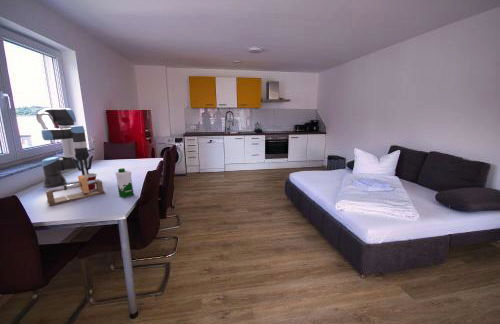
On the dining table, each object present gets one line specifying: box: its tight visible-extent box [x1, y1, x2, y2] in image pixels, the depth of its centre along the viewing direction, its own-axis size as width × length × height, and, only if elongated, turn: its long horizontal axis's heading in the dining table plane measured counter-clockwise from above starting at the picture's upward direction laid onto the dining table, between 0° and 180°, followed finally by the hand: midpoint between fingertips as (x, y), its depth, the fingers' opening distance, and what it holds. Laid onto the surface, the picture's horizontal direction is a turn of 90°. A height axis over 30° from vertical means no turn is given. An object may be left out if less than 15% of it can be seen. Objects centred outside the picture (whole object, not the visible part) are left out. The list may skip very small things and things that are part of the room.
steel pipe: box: [48, 178, 100, 193], centre depth 164 cm, size 4×29×4 cm, turn 138°
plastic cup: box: [83, 172, 98, 191], centre depth 183 cm, size 11×11×12 cm
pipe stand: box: [45, 179, 106, 207], centre depth 165 cm, size 12×32×9 cm, turn 138°
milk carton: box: [115, 168, 135, 199], centre depth 166 cm, size 9×9×20 cm
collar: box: [77, 174, 90, 193], centre depth 167 cm, size 11×3×11 cm, turn 48°
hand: (86, 179), depth 168 cm, fingers closed
